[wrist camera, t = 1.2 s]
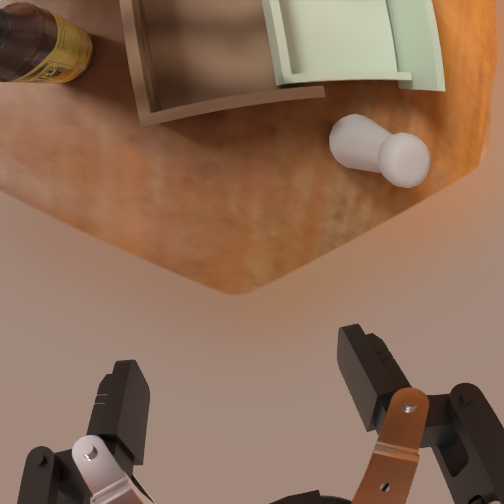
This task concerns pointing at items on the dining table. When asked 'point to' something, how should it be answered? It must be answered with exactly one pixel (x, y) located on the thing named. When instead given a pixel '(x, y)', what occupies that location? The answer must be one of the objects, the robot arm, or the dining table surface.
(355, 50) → the drawer
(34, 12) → the sauce bottle
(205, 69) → the cabinet
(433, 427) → the robot arm
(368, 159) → the salt shaker
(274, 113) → the dining table surface
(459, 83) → the dining table surface
